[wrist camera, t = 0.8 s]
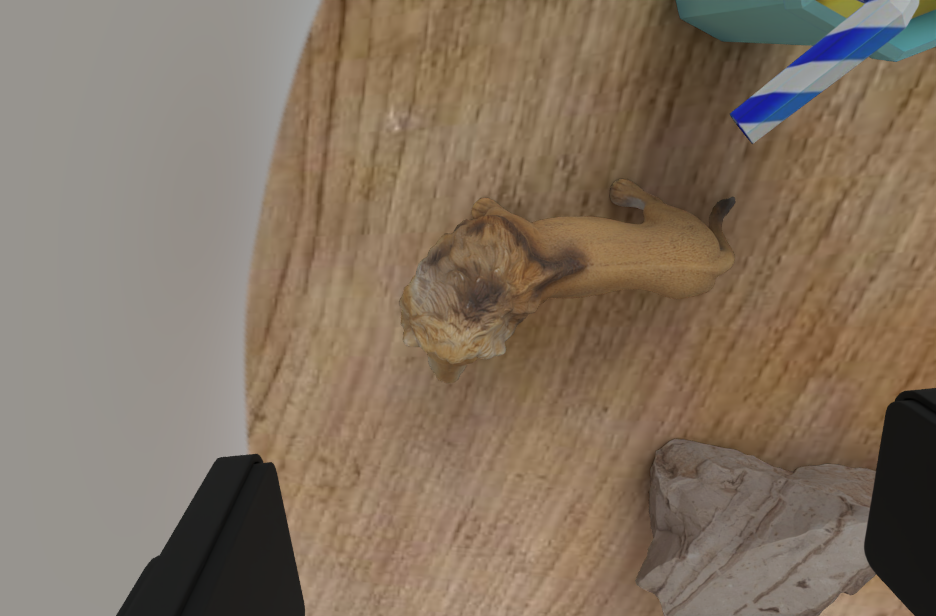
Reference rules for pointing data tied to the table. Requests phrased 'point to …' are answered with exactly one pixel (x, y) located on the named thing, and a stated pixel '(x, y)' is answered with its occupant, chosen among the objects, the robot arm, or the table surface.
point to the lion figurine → (550, 270)
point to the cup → (812, 43)
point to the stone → (753, 533)
